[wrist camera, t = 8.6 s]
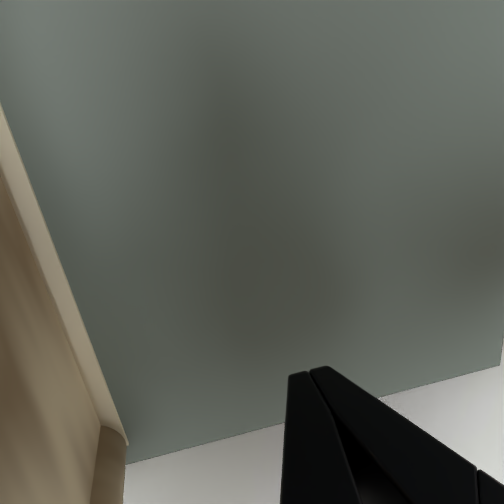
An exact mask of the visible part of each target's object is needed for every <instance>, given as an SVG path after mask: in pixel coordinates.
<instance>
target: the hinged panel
mask: <svg viewBox="0 0 504 504" xmlns="http://www.w3.org/2000/svg"><path fill="white" fill-rule="evenodd" d="M126 449H127V446H126V441H125V439H124V438H123V436H122V435H121V434H120V433H119V432H117V431H116V430H114V429H112V428H110V427H107V426H102V425H100V422H99V420H98V417H97V415H96V412H95V410H94V407H93V405H92V402H91V400H90V397H89V395H88V392H87V390H86V387H85V385H84V382H83V380H82V377H81V375H80V372H79V370H78V367H77V365H76V362H75V360H74V357H73V355H72V352H71V350H70V347H69V345H68V342H67V340H66V337H65V335H64V332H63V330H62V327H61V325H60V322H59V320H58V317H57V315H56V312H55V310H54V307H53V305H52V302H51V300H50V298H49V295H48V293H47V290H46V288H45V285H44V283H43V280H42V278H41V275H40V273H39V270H38V268H37V265H36V263H35V260H34V258H33V255H32V253H31V250H30V248H29V245H28V243H27V240H26V238H25V235H24V233H23V230H22V228H21V225H20V223H19V220H18V218H17V215H16V213H15V210H14V208H13V205H12V203H11V200H10V198H9V195H8V193H7V190H6V188H5V185H4V183H3V180H2V178H1V175H0V504H123V492H124V478H125V464H126Z"/></svg>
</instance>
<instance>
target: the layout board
mask: <svg viewBox="0 0 504 504" xmlns="http://www.w3.org/2000/svg"><path fill="white" fill-rule="evenodd" d="M0 175H1V178H2V180H3V183H4V185H5V188H6V190H7V193H8V195H9V198H10V200H11V203H12V205H13V208H14V210H15V213H16V215H17V218H18V220H19V223H20V225H21V228H22V230H23V233H24V235H25V238H26V240H27V243H28V245H29V248H30V250H31V253H32V255H33V258H34V260H35V263H36V265H37V268H38V270H39V273H40V275H41V278H42V280H43V283H44V285H45V288H46V290H47V293H48V295H49V298H50V300H51V302H52V305H53V307H54V310H55V312H56V315H57V317H58V320H59V322H60V325H61V327H62V330H63V332H64V335H65V337H66V340H67V342H68V345H69V347H70V350H71V352H72V355H73V357H74V360H75V362H76V365H77V367H78V370H79V372H80V375H81V377H82V380H83V382H84V385H85V387H86V390H87V392H88V395H89V397H90V400H91V402H92V405H93V407H94V410H95V412H96V415H97V417H98V420H99V422H100V425H102V426H107V427H110V428H112V429H114V430H116V431H117V432H119V433H120V434H121V435H122V436H123V438H124V439H125V441H126V446H127V449H126V464H125V465H127V464H131V463H135V462H138V461H142V460H146V459H150V458H153V457H157V456H161V455H165V454H168V453H172V452H176V451H180V450H183V449H187V448H191V447H195V446H198V445H202V444H206V443H210V442H213V441H217V440H221V439H225V438H228V437H232V436H236V435H240V434H244V433H247V432H251V431H255V430H259V429H262V428H266V427H270V426H274V425H277V424H281V423H285V415H286V399H287V384H288V376H289V375H290V374H293V373H297V372H301V371H307V372H309V371H310V369H313V368H317V367H321V366H325V365H327V366H330V367H332V368H333V369H335V370H336V371H338V372H339V373H340V374H342V375H343V376H345V377H346V378H348V379H349V380H351V381H352V382H354V383H355V384H356V385H358V386H359V387H361V388H362V389H364V390H365V391H367V392H368V393H370V394H371V395H373V396H374V397H375V398H379V397H382V396H386V395H390V394H394V393H397V392H401V391H405V390H409V389H412V388H416V387H420V386H424V385H427V384H431V383H435V382H439V381H443V380H446V379H450V378H454V377H458V376H461V375H465V374H469V373H473V372H476V371H480V370H484V369H488V368H491V367H495V366H499V365H500V360H501V353H502V345H503V338H504V0H0Z"/></svg>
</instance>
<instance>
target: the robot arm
mask: <svg viewBox="0 0 504 504" xmlns="http://www.w3.org/2000/svg"><path fill="white" fill-rule="evenodd" d="M280 504H504V485H503V484H501V483H500V482H498V481H497V480H495V479H494V478H493V477H491V476H490V475H488V474H487V473H485V472H484V471H482V470H478V471H477V467H476V466H475V465H473V464H472V463H470V462H469V461H467V460H466V459H465V458H463V457H462V456H460V455H459V454H457V453H456V452H454V451H453V450H451V449H450V448H448V447H447V446H446V445H444V444H443V443H441V442H440V441H438V440H437V439H435V438H434V437H432V436H431V435H429V434H428V433H427V432H425V431H424V430H422V429H421V428H419V427H418V426H416V425H415V424H413V423H412V422H411V421H409V420H408V419H406V418H405V417H403V416H402V415H400V414H399V413H397V412H396V411H394V410H393V409H392V408H390V407H389V406H387V405H386V404H384V403H383V402H381V401H380V400H378V399H377V398H375V397H374V396H373V395H371V394H370V393H368V392H367V391H365V390H364V389H362V388H361V387H359V386H358V385H356V384H355V383H354V382H352V381H351V380H349V379H348V378H346V377H345V376H343V375H342V374H340V373H339V372H338V371H336V370H335V369H333V368H332V367H330V366H327V365H325V366H321V367H317V368H313V369H310V371H309V372H307V371H301V372H297V373H293V374H290V375H289V376H288V384H287V399H286V415H285V431H284V447H283V463H282V478H281V494H280Z"/></svg>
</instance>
